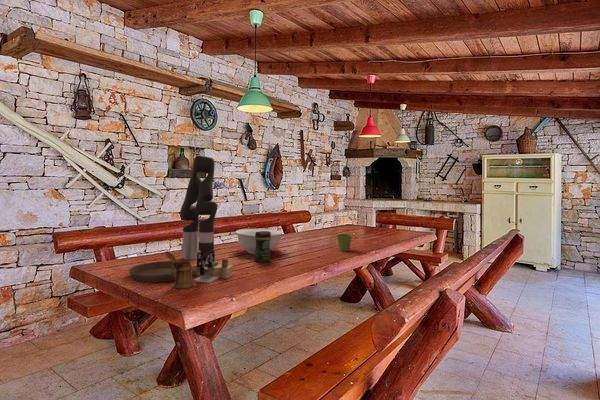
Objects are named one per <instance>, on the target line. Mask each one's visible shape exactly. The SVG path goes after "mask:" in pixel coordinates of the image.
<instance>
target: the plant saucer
mask: <svg viewBox="0 0 600 400" xmlns="http://www.w3.org/2000/svg"><path fill="white" fill-rule="evenodd" d="M176 262H181V261H178V260H176ZM172 263H173V262H172V261H171V260H165V261H164V260H162V261H161V260H160V261H153V262H146V263H140V264H137V265H134V266H132V267H129V269H128V273H129V274H130V276H131V277H133V278H134V280H136V281H139V282H144V283H146V282H147V283H161V282H163V283H164V282H171V281H175V279H174V277H173V275H172V273H171V265H172ZM192 266H193V264H191V267H192ZM174 272H175V273H176V268H175V270H174Z"/></svg>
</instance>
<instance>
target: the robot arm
mask: <svg viewBox="0 0 600 400" xmlns="http://www.w3.org/2000/svg"><path fill="white" fill-rule="evenodd" d="M215 162H216V161H215V159H214V158H213V157H210V156H205V155H196V156H195V157H194V159H193V164H192V169H191V174H190V179H189V180H188V184H187V188H186V192H185V197H184V200H183V203H182V205H181V207H180V214H179V216H180V219H181V220H182V221H186V222H187V221H191V222H190V223H189V224H187V225H184V226H183V227H182V243H181V250H180V251H181V253H180V254H181V258H180V259H182V260H184V261H190V260H191V261H193V260H196V264H197V267H199V268H200V275H204V266H205V264H206V263H207V262H208V267H210V268H212V264H213V262H216V259H215V258H216V256H215V255H216V254H215V252H216V251H215V234H214V231H215V229H214V227H215V226H214V225H215V224H214V223H215V218H216V214H217V211H218V204H217V202H216V201H213V199H214V188H213V185H214V178H215V165H216V163H215ZM199 173H201V174H206V177H205V178H203V179H201V178H200V176H199ZM194 204H195V205H194ZM200 216H209V217H208V218H206V219H202V220H201V219H200V220H199V218H200ZM198 251H201V255H197V252H198ZM199 262H200V263H199Z"/></svg>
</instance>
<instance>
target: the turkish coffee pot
mask: <svg viewBox="0 0 600 400" xmlns="http://www.w3.org/2000/svg"><path fill="white" fill-rule="evenodd" d="M165 255H166V257H167V259H169V261H172V262H173V263H172V265H171V273H172V275H173V277H174V279H175V280H174V282H173V288H175V289H177V290H179V289H180V290H182V289H190V288H192V287H194V286H195V285H194V280H193V275H192V267H191V265H192V264H191V261H189V260H184V261H180V262H176V261H177V259H176V258H175V256H174V255H173V253H171V252H169V251H168V250H165ZM175 268H176V273H175V272H174V270H175Z"/></svg>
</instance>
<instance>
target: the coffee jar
mask: <svg viewBox="0 0 600 400" xmlns="http://www.w3.org/2000/svg"><path fill="white" fill-rule="evenodd" d="M255 239H256V249H255V254H254V258H253V259H254V261H255V262H257V263H259V262H260V263H265V262H269V261H271V250H270V239H271V233H270V232H268V231H260V232H256V234H255Z"/></svg>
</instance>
